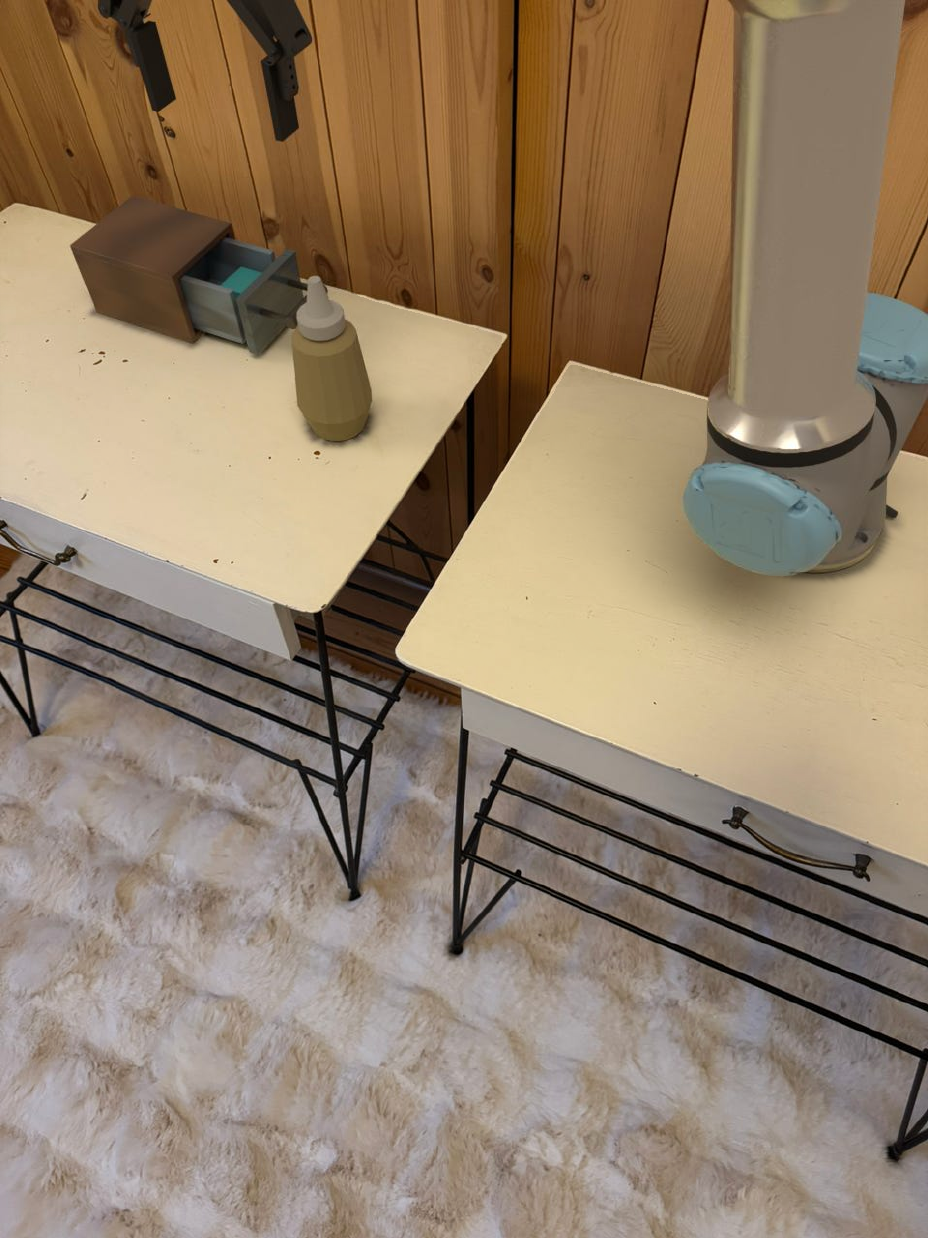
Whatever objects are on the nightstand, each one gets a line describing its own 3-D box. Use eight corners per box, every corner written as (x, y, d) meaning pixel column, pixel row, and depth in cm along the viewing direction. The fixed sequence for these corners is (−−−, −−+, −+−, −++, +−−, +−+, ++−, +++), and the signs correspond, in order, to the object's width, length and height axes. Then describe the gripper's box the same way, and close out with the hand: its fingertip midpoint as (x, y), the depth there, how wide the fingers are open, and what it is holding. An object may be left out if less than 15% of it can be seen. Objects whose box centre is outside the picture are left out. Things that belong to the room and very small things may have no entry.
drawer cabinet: (248, 290, 115) (231, 222, 108) (193, 344, 109) (172, 276, 102) (154, 261, 119) (132, 194, 112) (96, 312, 113) (69, 245, 106)
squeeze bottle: (381, 400, 103) (363, 255, 88) (369, 451, 98) (349, 307, 83) (310, 397, 103) (281, 252, 88) (295, 447, 99) (262, 304, 84)
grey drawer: (340, 315, 110) (332, 261, 104) (294, 367, 105) (283, 313, 99) (214, 277, 115) (199, 223, 109) (163, 324, 110) (145, 270, 104)
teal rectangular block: (279, 307, 110) (272, 275, 106) (258, 329, 107) (250, 296, 104) (248, 298, 111) (240, 265, 107) (227, 319, 108) (218, 286, 105)
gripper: (329, -180, 65) (363, 127, 82) (55, -214, 71) (140, 76, 89) (270, -148, 61) (319, 167, 78) (-13, -187, 68) (90, 111, 85)
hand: (224, 119), depth 83 cm, fingers open, 13 cm apart
